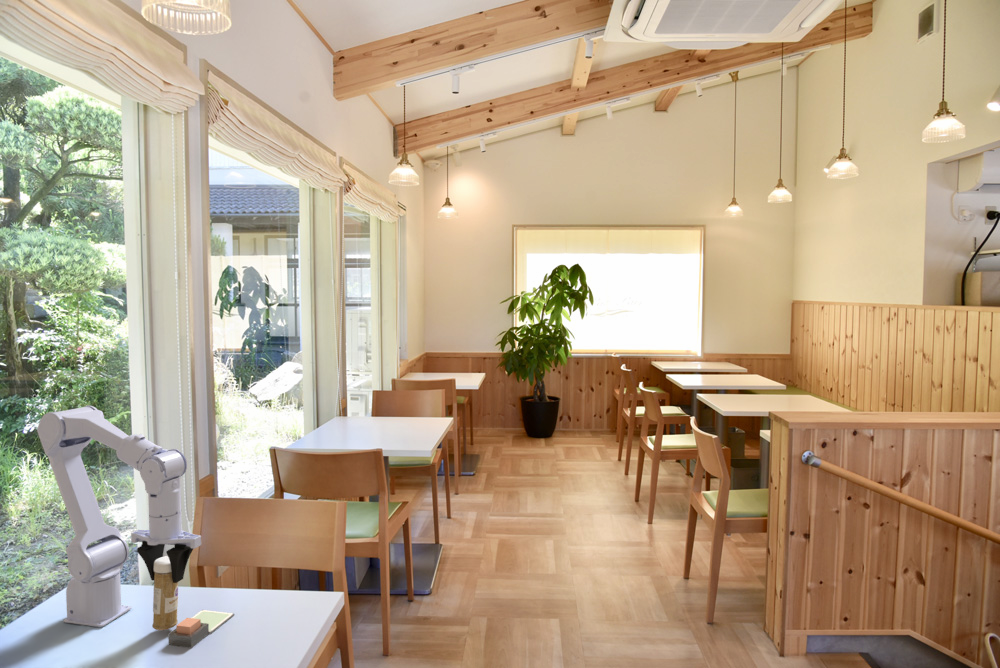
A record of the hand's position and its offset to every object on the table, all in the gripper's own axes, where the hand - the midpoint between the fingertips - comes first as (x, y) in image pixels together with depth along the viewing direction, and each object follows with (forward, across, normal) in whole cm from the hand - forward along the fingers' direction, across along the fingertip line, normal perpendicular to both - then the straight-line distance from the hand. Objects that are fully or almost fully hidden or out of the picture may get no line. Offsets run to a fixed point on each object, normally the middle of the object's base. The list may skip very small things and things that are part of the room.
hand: (167, 579), depth 125 cm
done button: (+9, +6, -2) cm, 11 cm away
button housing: (+10, +6, -2) cm, 12 cm away
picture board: (+10, +5, +4) cm, 13 cm away
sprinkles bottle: (+10, 0, 0) cm, 10 cm away
